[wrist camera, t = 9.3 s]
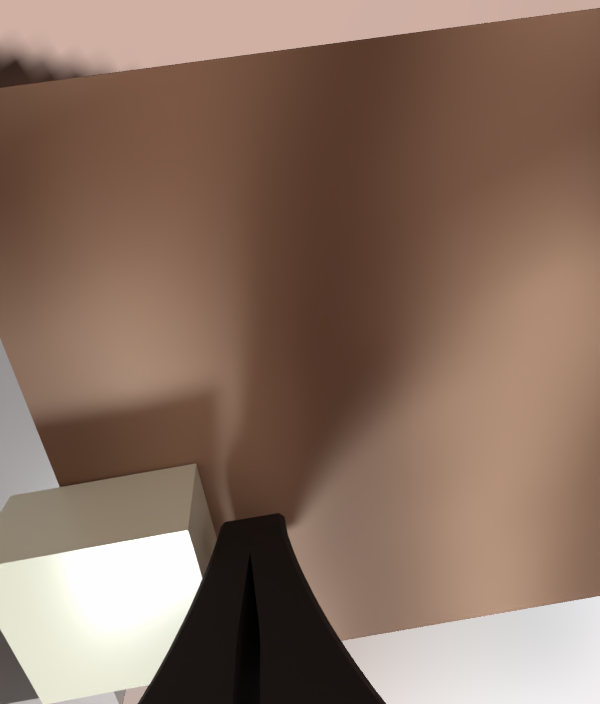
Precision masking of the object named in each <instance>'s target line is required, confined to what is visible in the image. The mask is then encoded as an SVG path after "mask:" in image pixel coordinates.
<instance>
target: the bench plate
mask: <svg viewBox="0 0 600 704" xmlns="http://www.w3.org/2000/svg"><path fill="white" fill-rule="evenodd" d="M0 339H1V341H2V344H3V346H4V349H5V351H6V354H7V356H8V359H9V361H10V364H11V366H12V369H13V371H14V374H15V376H16V379H17V381H18V384H19V386H20V389H21V391H22V394H23V396H24V399H25V401H26V404H27V406H28V409H29V411H30V414H31V416H32V419H33V421H34V424H35V426H36V429H37V431H38V434H39V436H40V439H41V441H42V444H43V446H44V449H45V451H46V454H47V456H48V459H49V461H50V464H51V466H52V469H53V471H54V474H55V476H56V479H57V481H58V484H59V486H60V487H64V486H70V485H75V484H81V483H87V482H92V481H98V480H104V479H110V478H115V477H121V476H127V475H132V474H138V473H144V472H150V471H155V470H161V469H167V468H172V467H178V466H184V465H190V464H195V463H196V465H197V468H198V472H199V476H200V479H201V483H202V487H203V490H204V494H205V497H206V501H207V505H208V508H209V512H210V516H211V519H212V523H213V527H214V530H215V534H216V538H218V535H219V531H220V528H221V526H222V525H223V524H224V523H225V522H227V521H234V520H240V519H246V518H252V517H258V516H264V515H270V514H276V513H280V514H281V515H283V516H285V522H286V528H287V533H288V536H289V539H290V542H291V545H292V548H293V550H294V553H295V555H296V558H297V560H298V563H299V565H300V567H301V569H302V572H303V574H304V576H305V578H306V580H307V582H308V584H309V586H310V588H311V590H312V592H313V594H314V596H315V598H316V599H317V601H318V603H319V605H320V607H321V608H322V610H323V612H324V614H325V615H326V617H327V619H328V620H329V622H330V624H331V626H332V627H333V629H334V631H335V632H336V634H337V635H338V637H339V639H340V640H341V641H342V640H348V639H354V638H360V637H365V636H371V635H376V634H382V633H388V632H394V631H399V630H405V629H411V628H417V627H423V626H428V625H434V624H440V623H445V622H451V621H458V620H463V619H469V618H475V617H481V616H486V615H492V614H497V613H504V612H509V611H515V610H521V609H526V608H532V607H538V606H544V605H549V604H555V603H561V602H567V601H573V600H579V599H584V598H590V597H595V596H600V8H596V9H589V10H583V11H582V10H581V11H574V12H567V13H559V14H551V15H544V16H537V17H529V18H521V19H514V20H506V21H499V22H491V23H484V24H476V25H469V26H461V27H454V28H446V29H439V30H431V31H423V32H416V33H409V34H401V35H393V36H387V37H379V38H371V39H364V40H356V41H349V42H341V43H333V44H326V45H319V46H311V47H303V48H296V49H288V50H281V51H273V52H266V53H258V54H251V55H243V56H236V57H228V58H221V59H213V60H205V61H198V62H190V63H183V64H175V65H168V66H160V67H153V68H145V69H138V70H130V71H123V72H115V73H108V74H100V75H93V76H85V77H78V78H70V79H63V80H55V81H47V82H40V83H32V84H25V85H17V86H10V87H2V88H0Z"/></svg>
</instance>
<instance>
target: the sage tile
mask: <svg viewBox="0 0 600 704" xmlns="http://www.w3.org/2000/svg"><path fill="white" fill-rule="evenodd" d="M216 541H217V538H216V534H215V530H214V527H213V523H212V519H211V516H210V512H209V508H208V505H207V501H206V497H205V494H204V490H203V487H202V483H201V479H200V476H199V472H198V468H197V465H196V463H195V464H190V465H184V466H178V467H172V468H167V469H161V470H155V471H150V472H144V473H138V474H132V475H127V476H121V477H115V478H110V479H104V480H98V481H92V482H87V483H81V484H75V485H70V486H64V487H58V488H52V489H47V490H41V491H35V492H30V493H24V494H18V495H12V496H10V497H9V499H8V501H7V503H6V504H5V506H4V508H3V509H2V511H1V513H0V630H1V631H2V633H3V635H4V637H5V638H6V640H7V642H8V644H9V646H10V647H11V649H12V651H13V653H14V654H15V656H16V658H17V660H18V661H19V663H20V665H21V667H22V668H23V670H24V672H25V674H26V675H27V677H28V679H29V681H30V682H31V684H32V686H33V688H34V689H35V691H36V693H37V695H38V696H39V698H40V700H41V702H42V704H51V703H56V702H61V701H67V700H72V699H77V698H82V697H88V696H93V695H98V694H104V693H109V692H114V691H119V690H125V689H130V688H135V687H140V686H146V685H149V684H150V683H151V681H152V679H153V678H154V676H155V674H156V672H157V671H158V669H159V667H160V665H161V663H162V662H163V660H164V658H165V656H166V654H167V652H168V651H169V649H170V647H171V645H172V643H173V641H174V639H175V637H176V635H177V633H178V631H179V629H180V627H181V625H182V623H183V621H184V619H185V617H186V615H187V613H188V611H189V608H190V606H191V604H192V602H193V599H194V597H195V595H196V592H197V590H198V588H199V586H200V583H201V581H202V579H203V576H204V574H205V571H206V569H207V566H208V564H209V561H210V558H211V556H212V553H213V550H214V547H215V544H216Z"/></svg>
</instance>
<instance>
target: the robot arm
mask: <svg viewBox="0 0 600 704" xmlns="http://www.w3.org/2000/svg"><path fill="white" fill-rule="evenodd" d="M138 704H386V703H385V702H384V701H383V699H382V698H381V697H380V695H379V694H378V693H377V692H376V690H375V689H374V688H373V686H372V685H371V684H370V682H369V681H368V680H367V678H366V677H365V675H364V674H363V672H362V671H361V670H360V668H359V667H358V666H357V664H356V663H355V661H354V660H353V658H352V657H351V655H350V654H349V652H348V651H347V650H346V648H345V646H344V645H343V643H342V642H341V640H340V639H339V637H338V635H337V634H336V632H335V631H334V629H333V627H332V626H331V624H330V622H329V620H328V619H327V617H326V615H325V614H324V612H323V610H322V608H321V607H320V605H319V603H318V601H317V599H316V598H315V596H314V594H313V592H312V590H311V588H310V586H309V584H308V582H307V580H306V578H305V576H304V574H303V572H302V569H301V567H300V565H299V563H298V560H297V558H296V555H295V553H294V550H293V548H292V545H291V542H290V539H289V536H288V533H287V528H286V522H285V516H283V515H281V514H280V513H276V514H270V515H264V516H258V517H252V518H246V519H240V520H234V521H227V522H225V523H224V524H223V525H222V526H221V528H220V531H219V535H218V538H217V541H216V544H215V547H214V550H213V553H212V556H211V558H210V561H209V564H208V566H207V569H206V571H205V574H204V576H203V579H202V581H201V583H200V586H199V588H198V590H197V592H196V595H195V597H194V599H193V602H192V604H191V606H190V608H189V611H188V613H187V615H186V617H185V619H184V621H183V623H182V625H181V627H180V629H179V631H178V633H177V635H176V637H175V639H174V641H173V643H172V645H171V647H170V649H169V651H168V652H167V654H166V656H165V658H164V660H163V662H162V663H161V665H160V667H159V669H158V671H157V672H156V674H155V676H154V678H153V679H152V681H151V683H150V684H149V686H148V688H147V689H146V691H145V693H144V694H143V696H142V698H141V700H140V701H139V703H138Z"/></svg>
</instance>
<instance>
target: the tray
mask: <svg viewBox="0 0 600 704" xmlns="http://www.w3.org/2000/svg"><path fill="white" fill-rule="evenodd" d="M58 487H60V486H59V484H58V481H57V479H56V476H55V474H54V471H53V469H52V466H51V464H50V461H49V459H48V456H47V454H46V451H45V449H44V446H43V444H42V441H41V439H40V436H39V434H38V431H37V429H36V426H35V424H34V421H33V419H32V416H31V414H30V411H29V409H28V406H27V404H26V401H25V399H24V396H23V394H22V391H21V389H20V386H19V384H18V381H17V379H16V376H15V374H14V371H13V369H12V366H11V364H10V361H9V359H8V356H7V354H6V351H5V349H4V346H3V344H2V341H1V339H0V513H1V511H2V509H3V508H4V506H5V504H6V503H7V501H8V499H9V497H10V496H12V495H18V494H24V493H30V492H35V491H41V490H47V489H52V488H58ZM125 691H126V689H125V690H119V691H114V692H109V693H104V694H98V695H93V696H88V697H82V698H77V699H72V700H67V701H61V702H56V703H51V704H123V700H124V696H125ZM0 704H42V702H41V700H40V698H39V696H38V695H37V693H36V691H35V689H34V688H33V686H32V684H31V682H30V681H29V679H28V677H27V675H26V674H25V672H24V670H23V668H22V667H21V665H20V663H19V661H18V660H17V658H16V656H15V654H14V653H13V651H12V649H11V647H10V646H9V644H8V642H7V640H6V638H5V637H4V635H3V633H2V631H1V630H0Z"/></svg>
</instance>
